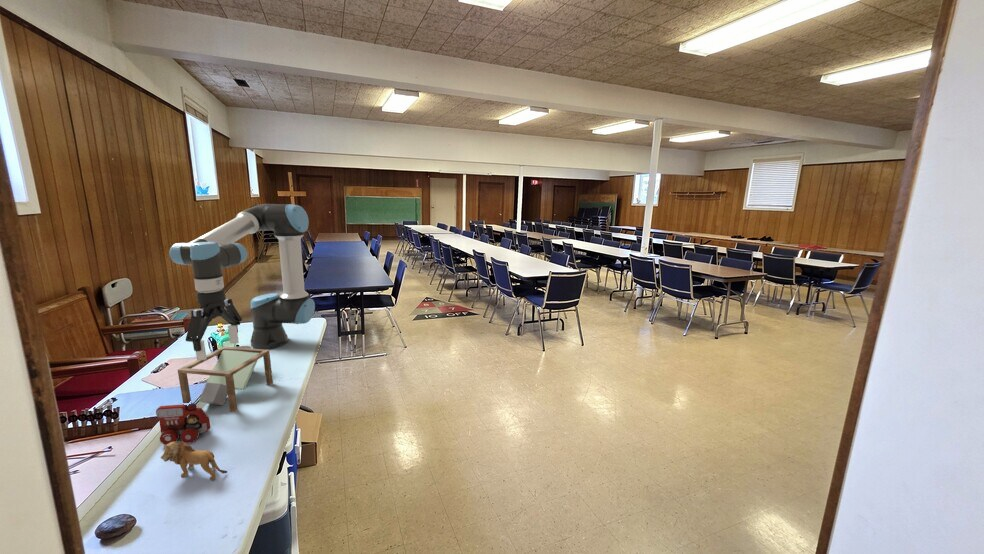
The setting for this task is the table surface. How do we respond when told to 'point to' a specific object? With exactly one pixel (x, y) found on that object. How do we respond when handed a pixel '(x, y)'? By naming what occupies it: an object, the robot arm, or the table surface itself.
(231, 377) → the frame
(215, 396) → the cube
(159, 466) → the table surface
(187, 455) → the lion figurine
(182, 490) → the table surface
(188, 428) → the toy fire truck
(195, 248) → the robot arm
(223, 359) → the hatch
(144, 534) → the table surface
